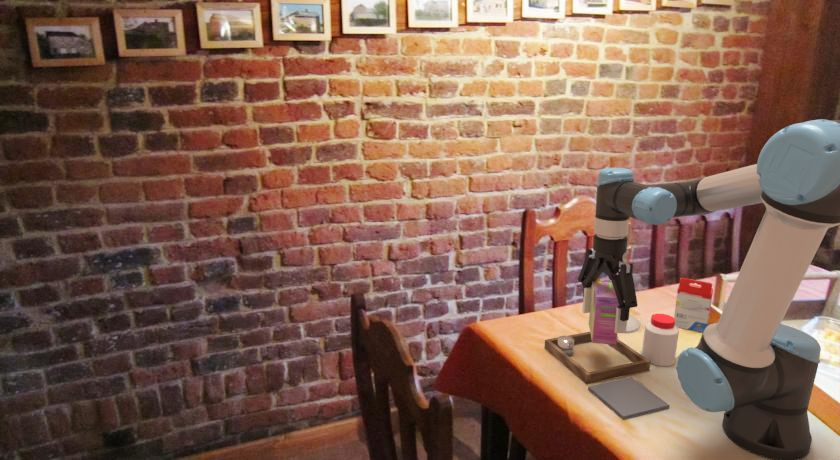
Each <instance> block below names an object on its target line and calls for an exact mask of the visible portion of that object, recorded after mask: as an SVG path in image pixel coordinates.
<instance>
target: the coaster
mask: <svg viewBox="0 0 840 460" xmlns="http://www.w3.org/2000/svg"><path fill="white" fill-rule="evenodd" d="M587 387H588V389H587V391H590V392H591V393H592V394H593V395H594V396H595V398H597V399H598V400H599V401H600V402H602V403H603V404H604V405H605V406H606V407H608V409H610V410H611V411H612V410H613V411H614V412H613V411H612V412H613V413H614V414H615V415H617V416H618V417H619V418H620V417H621V419H622V421H624V420H627V419H631V418H635V417H640V416H644V415H648V414H652V413H656V412H660V411H664V410H667V409H670V404H669V403H668V402H666V401H665V400H664V399H662V398H661V397H660V396H658V395H657V394H655V392H653V391H651V390H650V389H649V388H647V387H646V386H644V385H643V384H642V383H641V382H639V380H637V379H635V377H633V376H630V377H629V376H628V377H625V378H620V379H617V380H612V381H608V382H607V381H606V382H603V383H602V382H601V383H598V384H594V385H589V386H587Z"/></svg>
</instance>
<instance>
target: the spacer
mask: <svg viewBox="0 0 840 460" xmlns="http://www.w3.org/2000/svg"><path fill="white" fill-rule="evenodd" d="M557 338H558V343H557V347H558V348H560V349H561V350H562V351H563V352H565V353H566V354H567V355H568V356H569V357H571V358H572V356H574V348H575V347H574V346H575V345H574V339H573V338H572V337H570V336H569V335H560V336H558V337H557Z"/></svg>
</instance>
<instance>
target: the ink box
mask: <svg viewBox="0 0 840 460" xmlns="http://www.w3.org/2000/svg"><path fill="white" fill-rule="evenodd" d="M713 294H714V288H713V283H712V282H708V281H707V282H706V281H702V280H696V279H692V278H691V279H690V278H685V277H680V278H679V284H678V287H677V291H676V301H675V309H674V315H673V318H674V319H675V326H676V327H677V328H679V327H680V329H685V330H688V329H689V331H693V330H694V332H697V331H699V332H698V333H702V332H704V330H705V328H706V327H707V326H708V325H709V321H708V320H710V315H709V314H711V308H712V307H711V306H712V302H713V301H712V300H713ZM710 307H711V308H710Z"/></svg>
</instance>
